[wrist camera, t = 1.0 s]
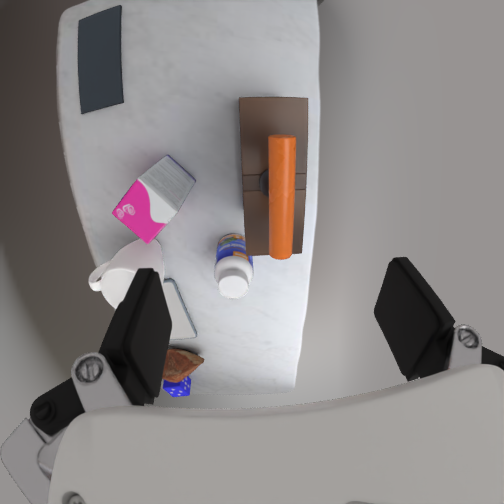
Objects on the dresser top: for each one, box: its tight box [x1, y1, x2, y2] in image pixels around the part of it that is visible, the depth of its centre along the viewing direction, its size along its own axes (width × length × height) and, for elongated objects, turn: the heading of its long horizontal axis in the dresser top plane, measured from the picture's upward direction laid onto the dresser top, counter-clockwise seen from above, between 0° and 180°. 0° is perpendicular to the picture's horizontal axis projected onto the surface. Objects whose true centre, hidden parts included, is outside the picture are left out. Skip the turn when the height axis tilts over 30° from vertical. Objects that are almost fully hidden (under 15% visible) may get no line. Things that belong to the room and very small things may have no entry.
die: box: [163, 376, 191, 397], centre depth 60 cm, size 5×5×5 cm
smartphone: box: [162, 279, 197, 340], centre depth 49 cm, size 8×1×15 cm
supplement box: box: [112, 155, 196, 244], centre depth 32 cm, size 6×6×12 cm
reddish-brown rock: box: [162, 349, 204, 383], centre depth 54 cm, size 13×8×10 cm
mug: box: [89, 239, 165, 309], centre depth 37 cm, size 12×8×11 cm
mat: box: [78, 5, 124, 114], centre depth 25 cm, size 16×7×1 cm, turn 2°
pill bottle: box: [214, 234, 253, 299], centre depth 39 cm, size 5×5×10 cm
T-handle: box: [259, 135, 296, 260], centre depth 26 cm, size 10×3×14 cm, turn 2°
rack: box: [239, 97, 308, 256], centre depth 30 cm, size 16×6×12 cm, turn 2°
